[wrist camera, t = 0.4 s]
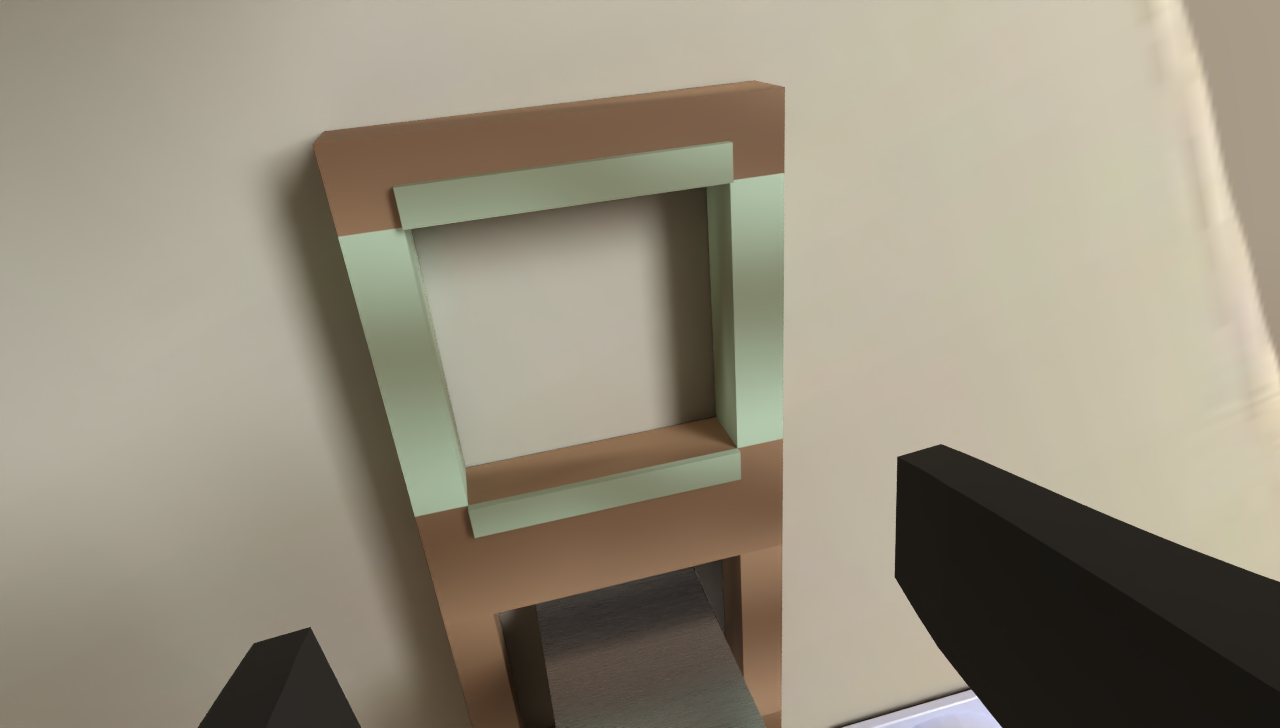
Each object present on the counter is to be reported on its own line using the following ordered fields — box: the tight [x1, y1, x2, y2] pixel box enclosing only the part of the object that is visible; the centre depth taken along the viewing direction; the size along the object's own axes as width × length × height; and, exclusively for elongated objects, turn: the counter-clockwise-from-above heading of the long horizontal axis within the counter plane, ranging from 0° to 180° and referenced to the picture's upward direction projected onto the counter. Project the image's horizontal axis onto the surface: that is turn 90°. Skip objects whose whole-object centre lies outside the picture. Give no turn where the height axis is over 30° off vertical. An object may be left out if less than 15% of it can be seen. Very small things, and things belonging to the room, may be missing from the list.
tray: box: [313, 81, 785, 728], centre depth 19 cm, size 20×9×2 cm, turn 5°
